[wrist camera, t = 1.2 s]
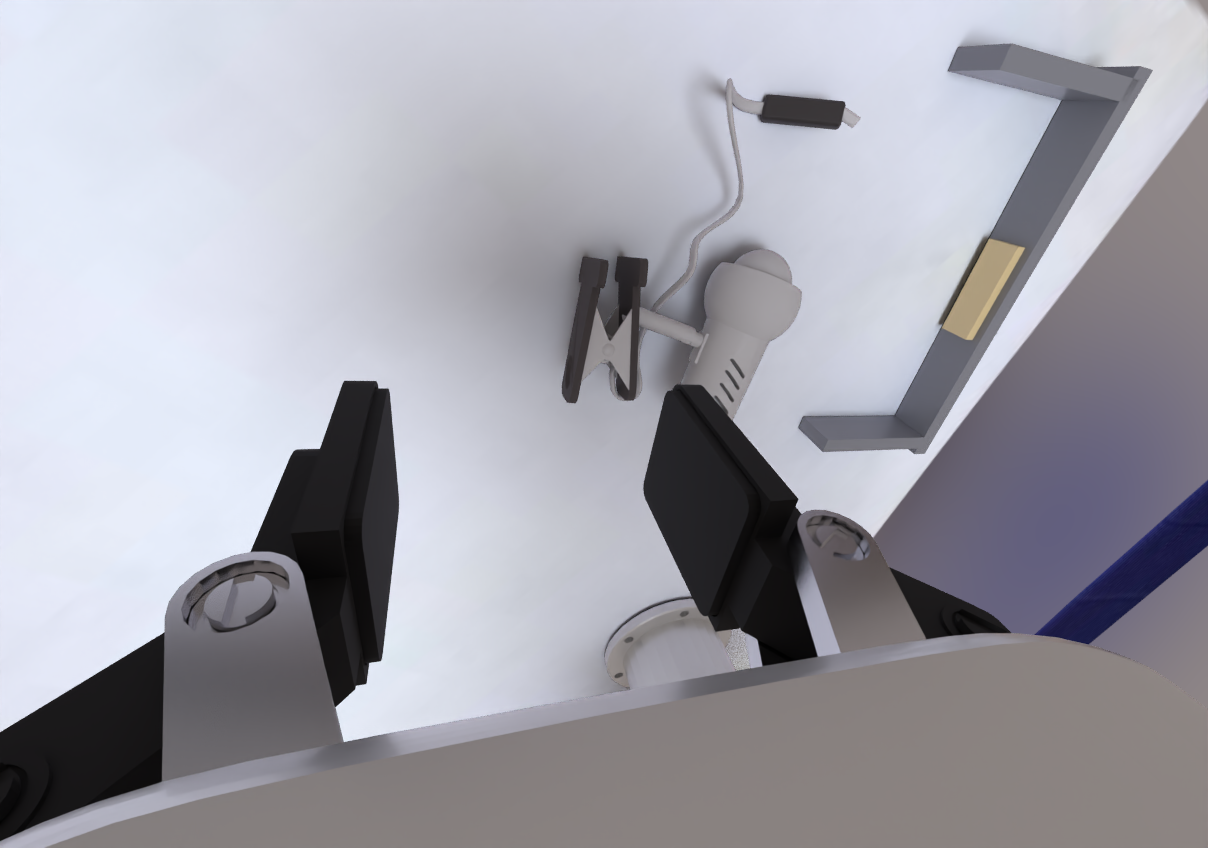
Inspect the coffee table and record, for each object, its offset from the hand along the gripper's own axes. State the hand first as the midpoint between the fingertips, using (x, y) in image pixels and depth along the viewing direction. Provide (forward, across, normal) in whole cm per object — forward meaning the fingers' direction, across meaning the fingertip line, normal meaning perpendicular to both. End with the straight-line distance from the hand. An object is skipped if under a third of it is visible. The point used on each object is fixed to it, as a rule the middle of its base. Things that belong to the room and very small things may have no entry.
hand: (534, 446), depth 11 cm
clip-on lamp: (+18, -11, 0) cm, 21 cm away
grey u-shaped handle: (+18, -28, 0) cm, 33 cm away
